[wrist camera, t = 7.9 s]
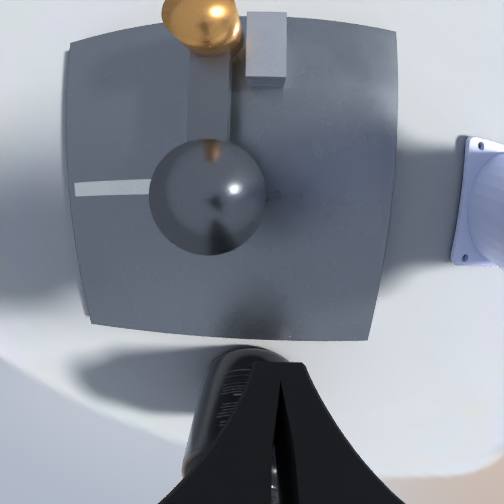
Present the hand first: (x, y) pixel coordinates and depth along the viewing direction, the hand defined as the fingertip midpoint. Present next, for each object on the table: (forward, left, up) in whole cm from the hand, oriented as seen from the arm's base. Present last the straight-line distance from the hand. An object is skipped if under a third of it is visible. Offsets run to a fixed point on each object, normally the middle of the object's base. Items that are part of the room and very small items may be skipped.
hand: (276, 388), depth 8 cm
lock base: (+3, -4, -10) cm, 12 cm away
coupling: (+3, -7, -7) cm, 11 cm away
